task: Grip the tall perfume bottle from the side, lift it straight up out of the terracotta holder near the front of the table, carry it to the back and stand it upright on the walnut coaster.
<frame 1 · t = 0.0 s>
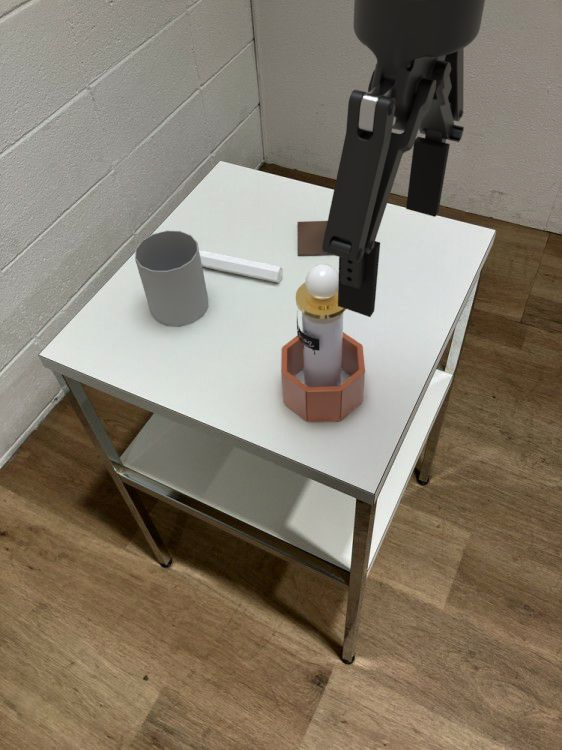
hand: (391, 256, 52), 29 cm above the table, tool pointing down, fingers open, 13 cm apart
coaster: (329, 238, 99), on the table
holder: (322, 389, 80), on the table
perfume bottle: (322, 390, 80), resting in holder
marker: (230, 270, 96), on the table
cup: (179, 306, 91), on the table
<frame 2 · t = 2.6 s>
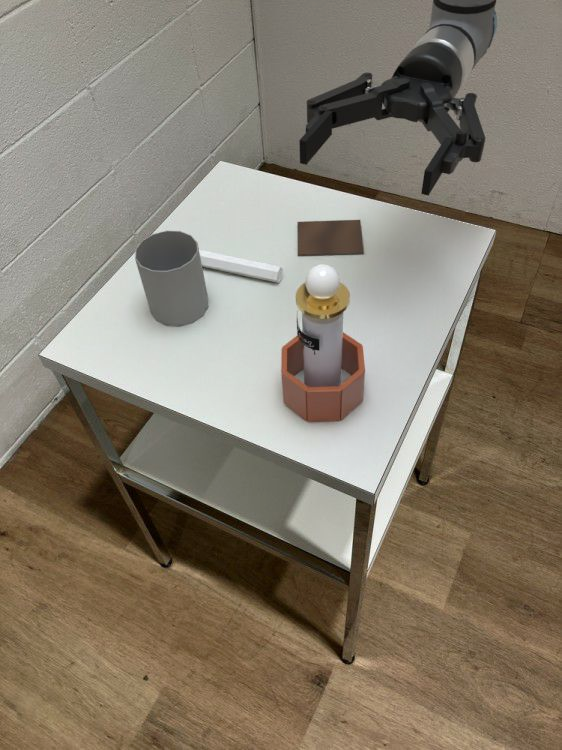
hand: (362, 167, 65), 26 cm above the table, tool horizontal, fingers open, 13 cm apart
nothing on the table moved.
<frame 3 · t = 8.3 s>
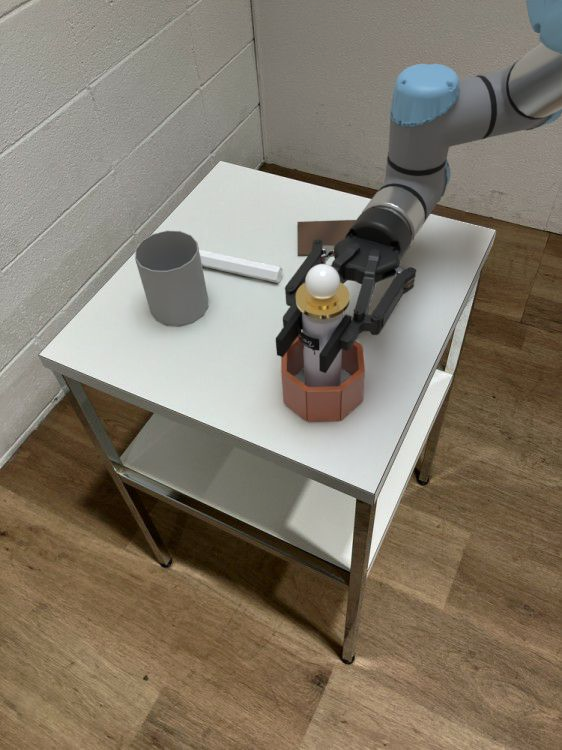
hand: (300, 355, 68), 12 cm above the table, tool horizontal, fingers closed on perfume bottle, 4 cm apart
perfume bottle: (322, 390, 80), resting in holder, touching gripper
everything else where it was.
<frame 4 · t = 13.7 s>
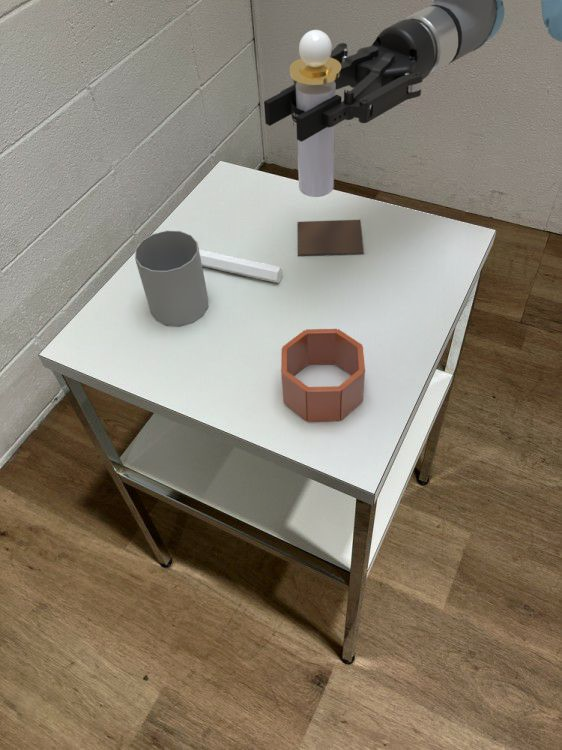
hand: (283, 121, 72), 26 cm above the table, tool horizontal, fingers closed on perfume bottle, 4 cm apart
perfume bottle: (316, 192, 83), point 14 cm above the table, touching gripper
everything else where it was.
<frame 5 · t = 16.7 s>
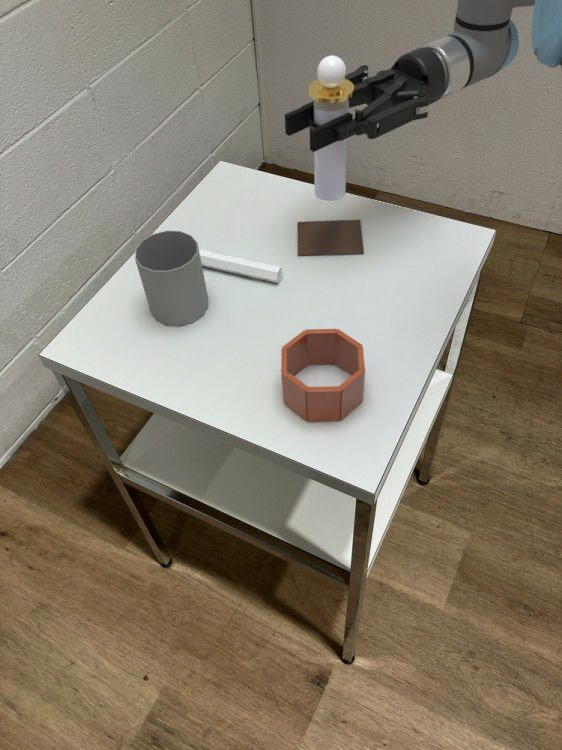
hand: (299, 133, 82), 20 cm above the table, tool horizontal, fingers closed on perfume bottle, 4 cm apart
perfume bottle: (330, 197, 93), point 8 cm above the table, touching gripper
everything else where it was.
when the fingers open (12 cm above the table, at t = 19.0 s): perfume bottle stays where it is, resting on coaster.
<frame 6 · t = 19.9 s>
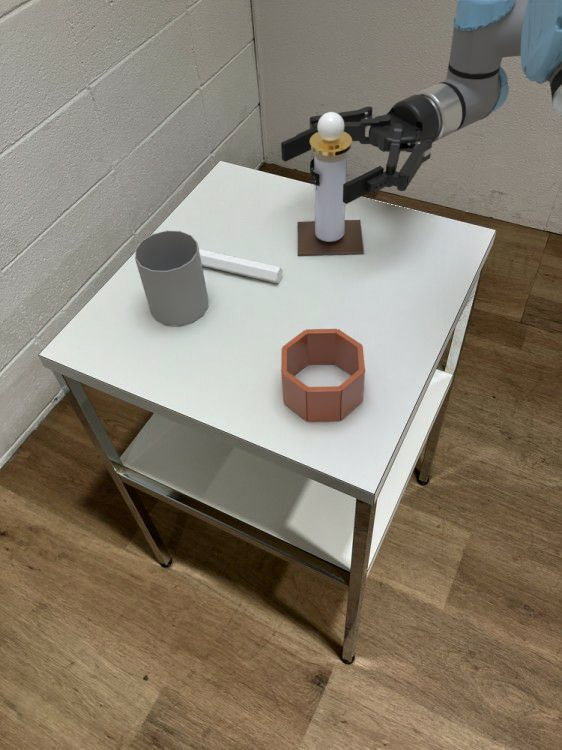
hand: (312, 172, 88), 13 cm above the table, tool horizontal, fingers open, 13 cm apart
perfume bottle: (329, 237, 99), resting on coaster
everything else where it was.
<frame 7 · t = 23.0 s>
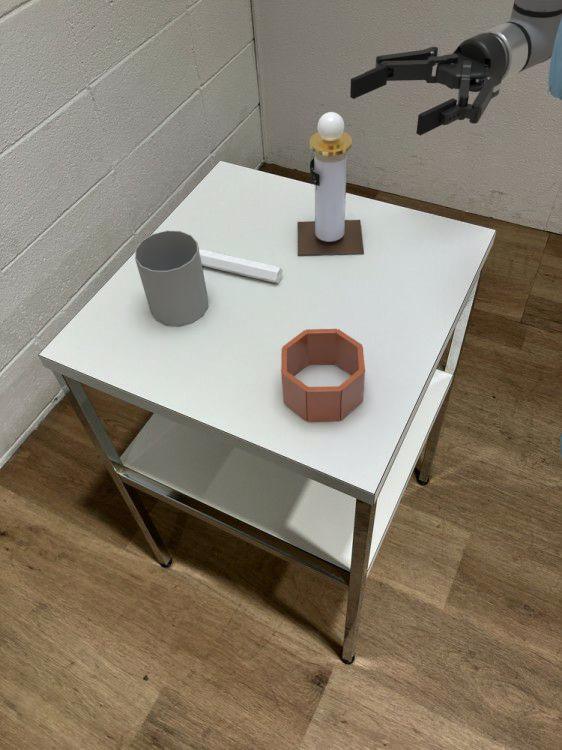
hand: (384, 106, 89), 18 cm above the table, tool horizontal, fingers open, 13 cm apart
nothing on the table moved.
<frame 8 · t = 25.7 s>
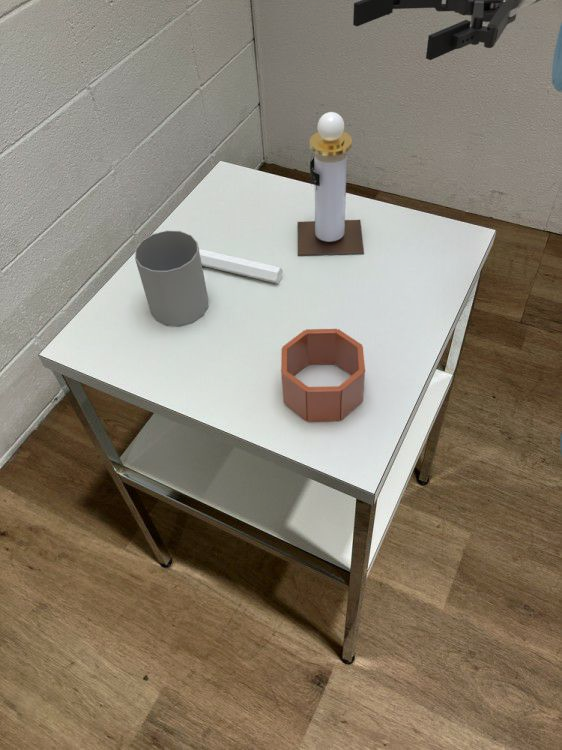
hand: (390, 30, 81), 28 cm above the table, tool horizontal, fingers open, 13 cm apart
nothing on the table moved.
at the end: perfume bottle inside the target area on the coaster (0.0 cm from its centre), point 0.2 cm above the coaster's base; perfume bottle tilted 0°; the gripper is holding nothing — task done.
